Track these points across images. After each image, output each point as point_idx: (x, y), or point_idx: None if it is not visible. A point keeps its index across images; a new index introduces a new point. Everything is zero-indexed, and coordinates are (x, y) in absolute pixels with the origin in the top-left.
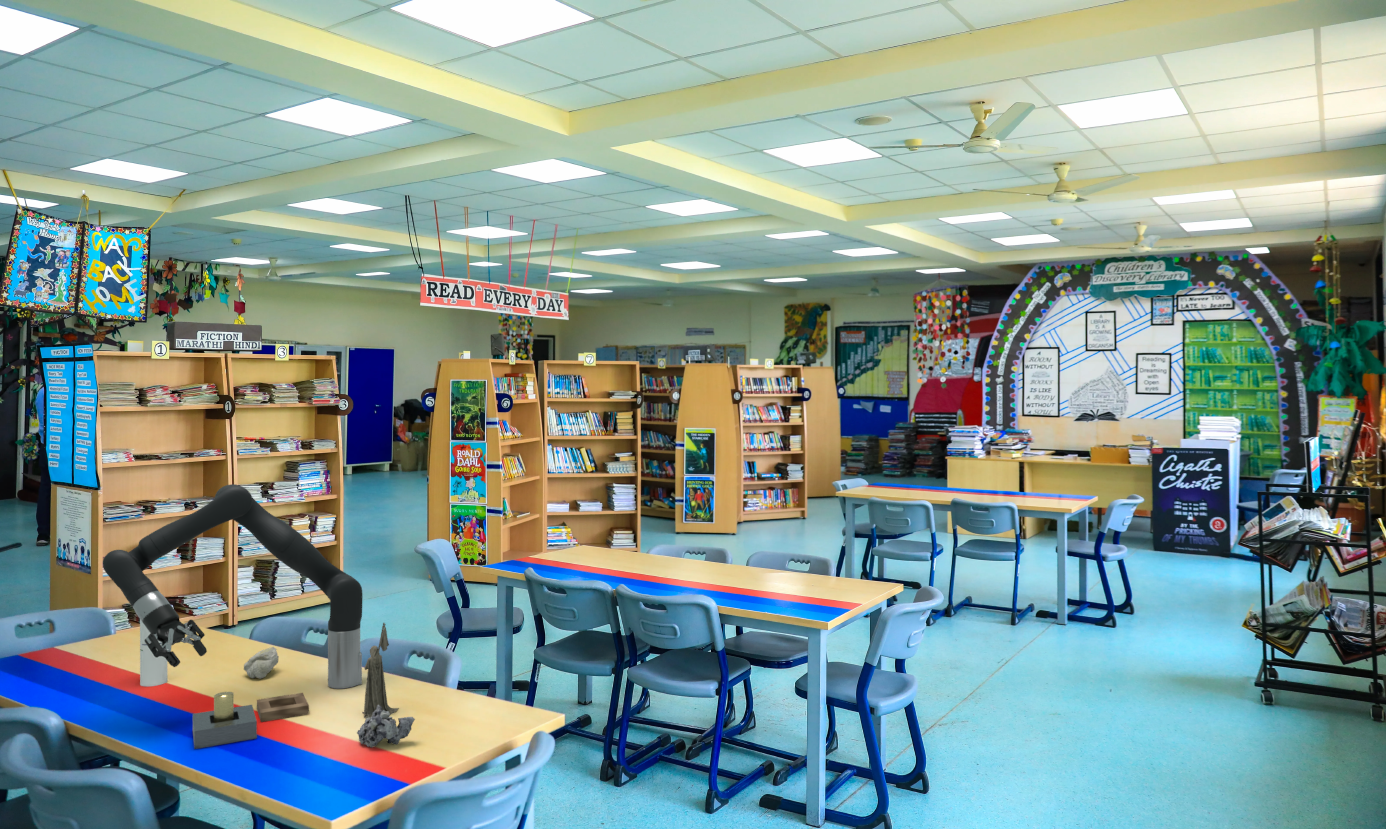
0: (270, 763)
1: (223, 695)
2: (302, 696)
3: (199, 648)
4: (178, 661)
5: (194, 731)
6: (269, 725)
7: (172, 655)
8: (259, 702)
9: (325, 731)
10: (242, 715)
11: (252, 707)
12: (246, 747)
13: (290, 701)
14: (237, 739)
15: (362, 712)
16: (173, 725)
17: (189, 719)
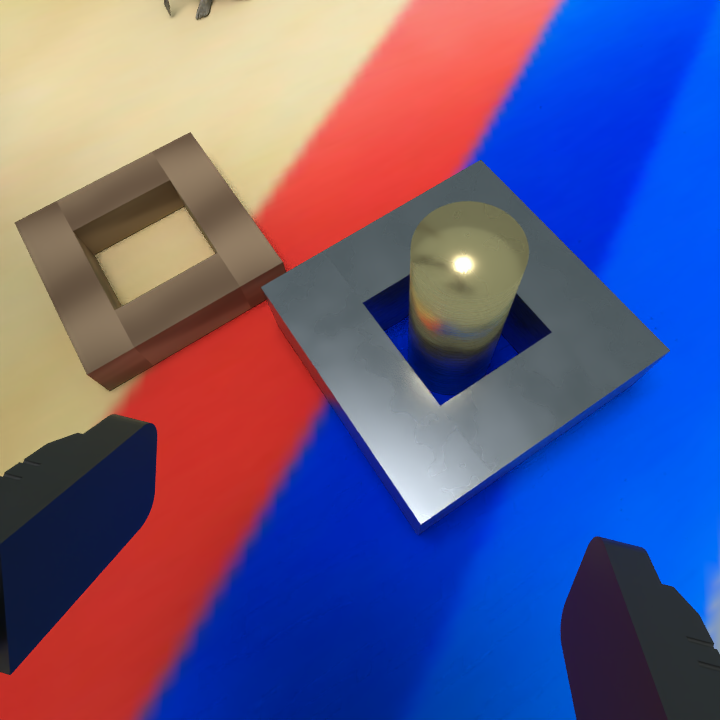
0: (675, 69)
1: (485, 241)
2: (70, 201)
3: (90, 513)
4: (631, 547)
5: (669, 350)
6: (328, 235)
7: (698, 678)
8: (133, 340)
9: (377, 46)
10: None
11: (303, 263)
12: (563, 202)
13: (88, 251)
14: None
15: (200, 17)
16: (347, 707)
17: (251, 665)
